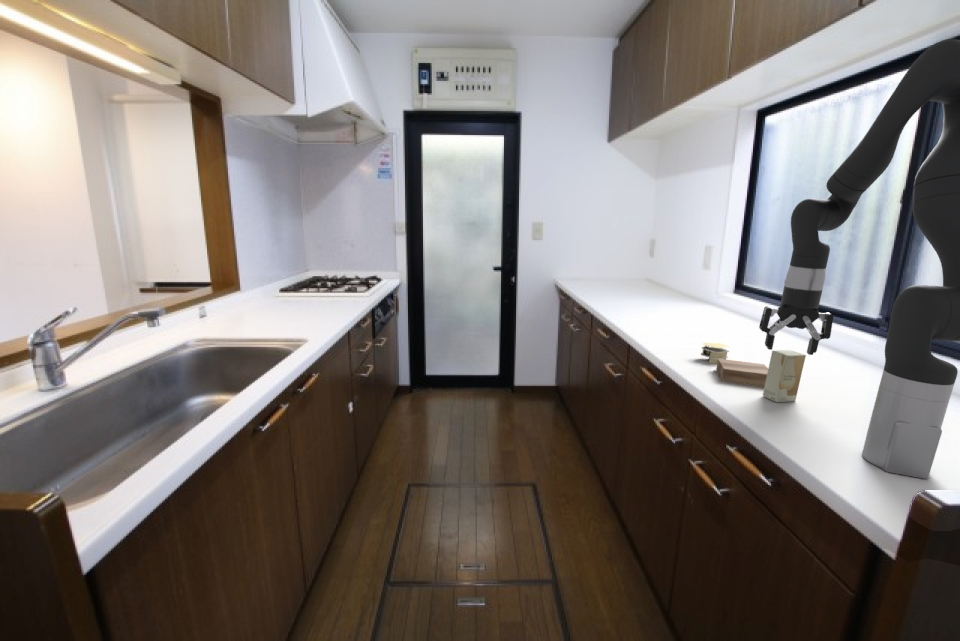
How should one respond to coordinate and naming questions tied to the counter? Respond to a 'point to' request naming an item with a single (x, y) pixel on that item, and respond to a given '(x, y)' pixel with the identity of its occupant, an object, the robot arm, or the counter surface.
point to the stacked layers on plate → (714, 352)
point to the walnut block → (742, 372)
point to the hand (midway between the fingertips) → (789, 351)
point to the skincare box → (784, 375)
